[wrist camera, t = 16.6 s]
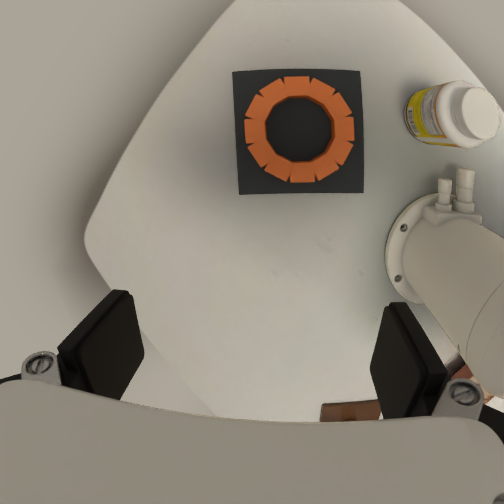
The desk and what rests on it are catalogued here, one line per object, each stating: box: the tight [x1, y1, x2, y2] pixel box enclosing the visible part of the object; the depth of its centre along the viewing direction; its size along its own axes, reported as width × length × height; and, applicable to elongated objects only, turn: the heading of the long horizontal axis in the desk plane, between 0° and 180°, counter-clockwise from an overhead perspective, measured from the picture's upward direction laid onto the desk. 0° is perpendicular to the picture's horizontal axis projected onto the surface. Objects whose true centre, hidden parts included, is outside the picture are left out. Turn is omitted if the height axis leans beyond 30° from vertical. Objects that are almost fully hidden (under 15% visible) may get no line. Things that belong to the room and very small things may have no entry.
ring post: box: [320, 400, 381, 422], centre depth 37 cm, size 9×9×6 cm
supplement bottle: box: [405, 81, 501, 148], centre depth 21 cm, size 6×6×10 cm
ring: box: [244, 76, 354, 183], centre depth 26 cm, size 10×10×2 cm
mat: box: [232, 69, 364, 195], centre depth 27 cm, size 12×12×1 cm
